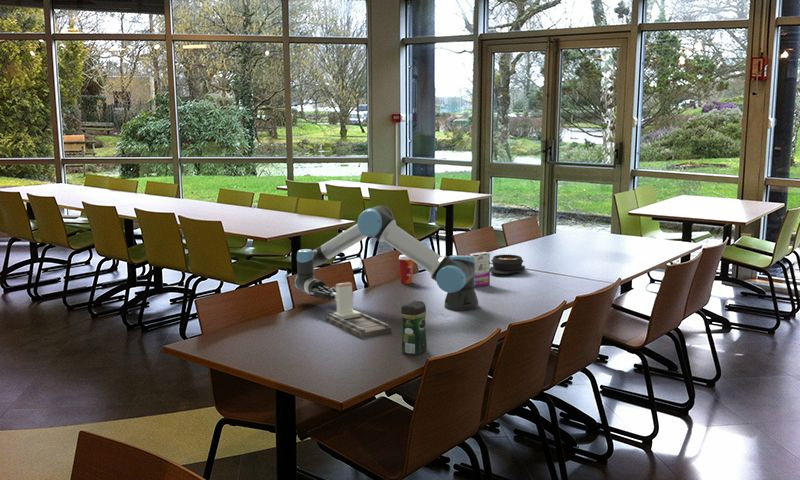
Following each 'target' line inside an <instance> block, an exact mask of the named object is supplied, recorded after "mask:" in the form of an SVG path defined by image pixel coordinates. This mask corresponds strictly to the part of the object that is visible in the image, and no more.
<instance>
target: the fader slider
mask: <svg viewBox="0 0 800 480" xmlns="http://www.w3.org/2000/svg"><path fill="white" fill-rule="evenodd" d="M335 287H336V301H335V302H336V311H334V312H333V314H334V315H336V316H338V317H340V318H342V319H348V318H354V317H360V316H361V313H362V312H361V311H359V310H356V309H354V308H353V306H354V305H353V304H354V303H353V302H354V301H353V299H354V298H353V282H350V281H347V282H341V283H340V282H338V283H335ZM353 309H354V310H353ZM355 310H356V311H355ZM358 311H359V312H358ZM360 312H361V313H360Z"/></svg>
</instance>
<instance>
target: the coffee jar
mask: <svg viewBox="0 0 800 480" xmlns="http://www.w3.org/2000/svg"><path fill="white" fill-rule="evenodd" d="M426 307H427V306H426V303H424V301H420V300H413V301H410V302H408V303H405V304H403V305H401V307H400V316H401V324H402V325H401V329H402V330H401V352H402V353H403V354H405V355H419V354H421V353H424V352H425V351H426V350H427V348H428V346H427V343H428V342H427V333H426V332H427V329H426V316H427V309H426Z"/></svg>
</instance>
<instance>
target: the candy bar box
mask: <svg viewBox="0 0 800 480" xmlns="http://www.w3.org/2000/svg"><path fill="white" fill-rule="evenodd" d="M490 255H491V253H490V252H487V251H481V252H473V253H472V252H471V253H466V254H465V256H472V257H474V259H475V288H480V287H487V286H491V282H490V281H491V277H490V276H491V272H490V268H491V266H490V262H491V260H490V257H491V256H490Z"/></svg>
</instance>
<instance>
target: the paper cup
mask: <svg viewBox="0 0 800 480" xmlns="http://www.w3.org/2000/svg"><path fill="white" fill-rule="evenodd" d="M398 261H399V275H400V276H399V277H400V278H399V279H400V284H402V285H409V284H412V282H413V271H414V270H413V268H414V265H413V264H414V261H412V260H411V259H409V258H408V257H407V256H405V255H404V254H400V255H399V257H398Z"/></svg>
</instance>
